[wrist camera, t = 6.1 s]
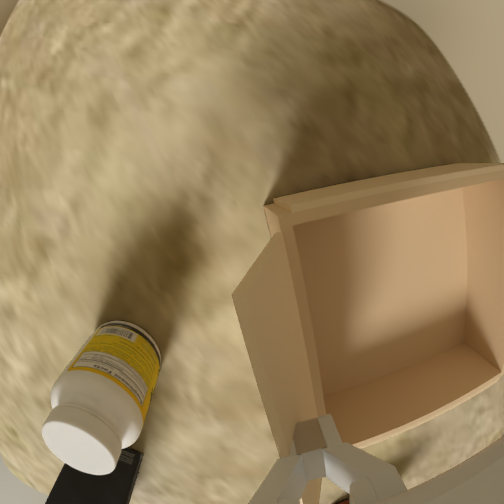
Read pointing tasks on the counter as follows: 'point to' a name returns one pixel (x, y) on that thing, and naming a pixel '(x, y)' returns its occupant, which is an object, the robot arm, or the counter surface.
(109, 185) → the counter surface
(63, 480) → the small box
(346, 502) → the supplement bottle
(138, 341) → the supplement bottle
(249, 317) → the flap
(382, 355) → the carton
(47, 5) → the counter surface
